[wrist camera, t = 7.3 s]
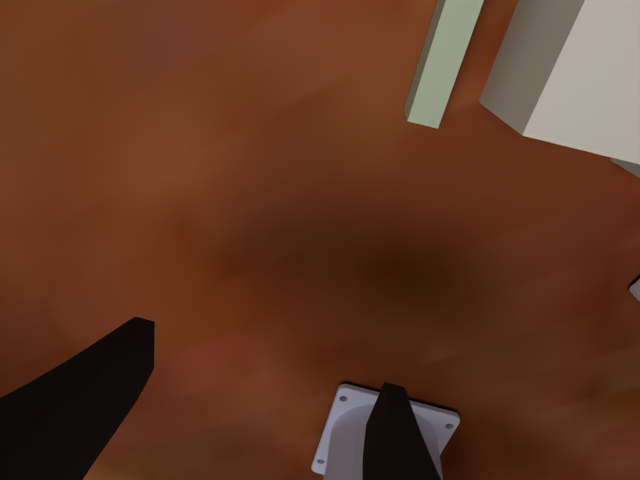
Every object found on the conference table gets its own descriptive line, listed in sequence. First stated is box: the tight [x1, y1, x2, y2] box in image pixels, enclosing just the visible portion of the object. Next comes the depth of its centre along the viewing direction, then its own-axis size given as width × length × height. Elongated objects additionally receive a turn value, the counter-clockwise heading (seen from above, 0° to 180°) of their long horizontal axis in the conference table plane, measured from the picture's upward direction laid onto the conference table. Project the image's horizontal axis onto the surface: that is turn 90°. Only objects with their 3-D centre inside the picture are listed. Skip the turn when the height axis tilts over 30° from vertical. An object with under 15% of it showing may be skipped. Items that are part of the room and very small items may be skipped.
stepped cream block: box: [479, 0, 640, 164], centre depth 12 cm, size 8×4×6 cm, turn 168°
